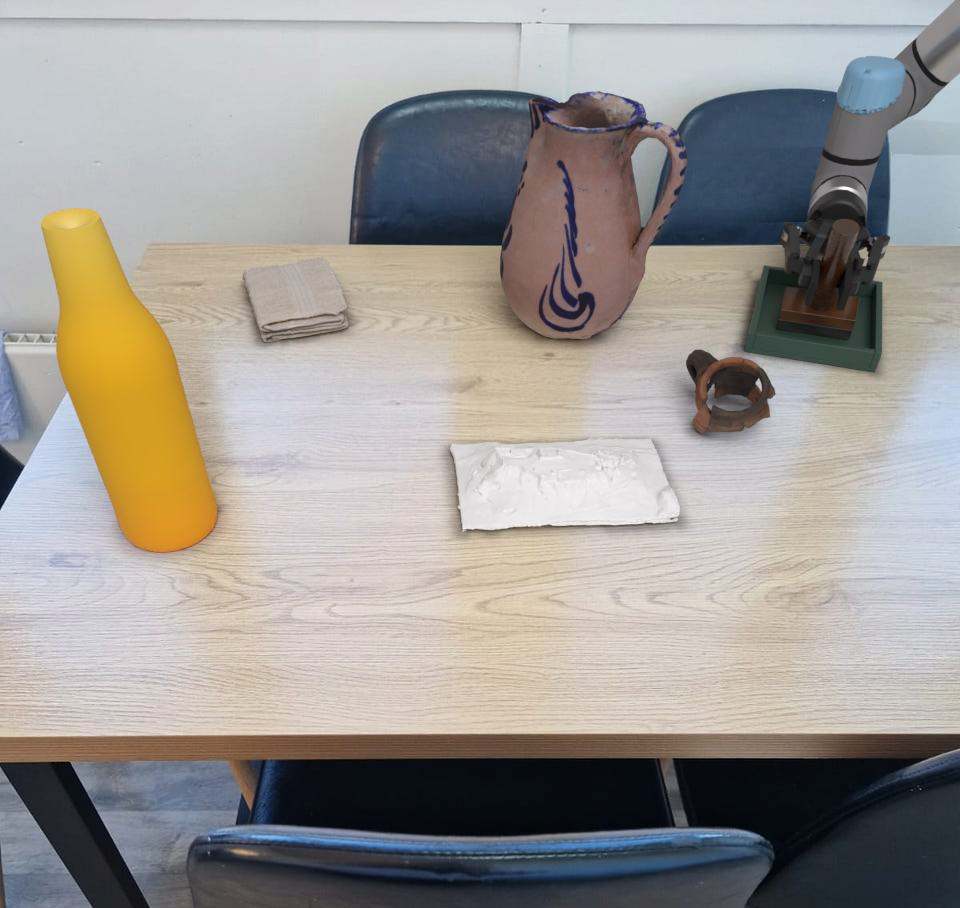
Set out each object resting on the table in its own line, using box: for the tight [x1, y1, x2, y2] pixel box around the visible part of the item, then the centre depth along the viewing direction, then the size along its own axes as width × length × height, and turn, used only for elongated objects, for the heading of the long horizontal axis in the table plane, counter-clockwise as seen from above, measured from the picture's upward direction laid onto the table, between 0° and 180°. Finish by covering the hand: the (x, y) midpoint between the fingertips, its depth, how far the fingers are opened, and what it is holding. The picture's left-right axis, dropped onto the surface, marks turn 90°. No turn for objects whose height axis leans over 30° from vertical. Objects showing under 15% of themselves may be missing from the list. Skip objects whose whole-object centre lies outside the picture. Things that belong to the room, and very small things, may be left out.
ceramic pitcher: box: [499, 90, 688, 340], centre depth 102 cm, size 18×21×25 cm
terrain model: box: [449, 436, 681, 533], centre depth 88 cm, size 17×23×5 cm
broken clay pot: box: [685, 349, 776, 434], centre depth 96 cm, size 12×10×8 cm
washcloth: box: [242, 257, 349, 343], centre depth 113 cm, size 12×18×3 cm, turn 19°
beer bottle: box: [40, 207, 218, 553], centre depth 74 cm, size 9×9×29 cm
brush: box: [776, 219, 860, 340], centre depth 104 cm, size 9×4×14 cm, turn 72°
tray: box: [744, 265, 883, 373], centre depth 111 cm, size 16×20×2 cm
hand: (827, 296), depth 100 cm, fingers closed on brush, 3 cm apart
